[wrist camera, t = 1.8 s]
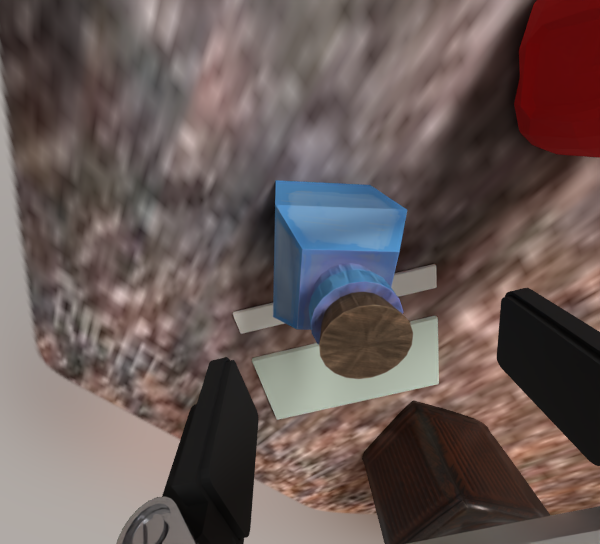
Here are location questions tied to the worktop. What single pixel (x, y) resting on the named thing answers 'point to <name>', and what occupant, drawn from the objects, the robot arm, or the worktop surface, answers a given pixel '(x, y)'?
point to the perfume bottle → (341, 273)
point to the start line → (401, 286)
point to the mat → (337, 389)
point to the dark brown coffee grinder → (443, 477)
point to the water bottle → (561, 77)
